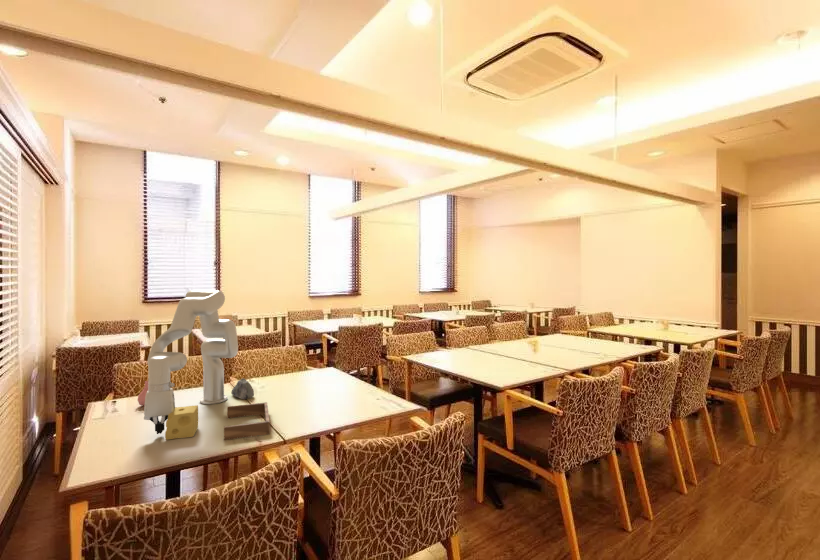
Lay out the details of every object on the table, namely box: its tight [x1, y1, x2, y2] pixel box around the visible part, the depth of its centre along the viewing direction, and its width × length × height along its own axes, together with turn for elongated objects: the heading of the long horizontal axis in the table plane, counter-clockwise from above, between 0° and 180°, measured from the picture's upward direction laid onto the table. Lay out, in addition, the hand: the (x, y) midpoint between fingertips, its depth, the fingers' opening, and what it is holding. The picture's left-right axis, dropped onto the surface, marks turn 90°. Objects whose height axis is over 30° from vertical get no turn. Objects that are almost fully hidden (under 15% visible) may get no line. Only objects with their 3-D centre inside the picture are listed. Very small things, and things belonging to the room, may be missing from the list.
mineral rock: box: [231, 378, 255, 400], centre depth 214 cm, size 13×11×10 cm
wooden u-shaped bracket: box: [223, 401, 271, 441], centre depth 174 cm, size 26×17×5 cm, turn 22°
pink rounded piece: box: [137, 380, 148, 406], centre depth 199 cm, size 8×8×12 cm
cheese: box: [164, 405, 199, 440], centre depth 165 cm, size 10×11×10 cm
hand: (159, 432), depth 162 cm, fingers closed
